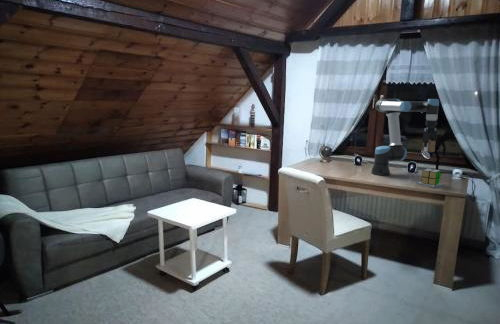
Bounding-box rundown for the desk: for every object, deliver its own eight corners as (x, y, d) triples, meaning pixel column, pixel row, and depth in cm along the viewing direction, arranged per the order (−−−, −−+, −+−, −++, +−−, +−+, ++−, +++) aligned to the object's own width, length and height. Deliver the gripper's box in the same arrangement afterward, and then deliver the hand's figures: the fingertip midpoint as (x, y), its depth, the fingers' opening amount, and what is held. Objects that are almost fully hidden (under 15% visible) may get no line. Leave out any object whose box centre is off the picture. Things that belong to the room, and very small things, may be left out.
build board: (416, 183, 272) (416, 182, 272) (426, 181, 279) (427, 180, 279) (433, 188, 260) (433, 186, 260) (444, 185, 268) (444, 184, 268)
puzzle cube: (425, 180, 277) (426, 168, 275) (439, 183, 270) (440, 170, 268) (421, 183, 270) (422, 170, 268) (435, 185, 263) (436, 172, 261)
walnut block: (422, 151, 267) (423, 140, 266) (427, 150, 270) (428, 140, 268) (429, 152, 262) (430, 141, 260) (434, 151, 265) (435, 141, 263)
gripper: (428, 120, 254) (425, 152, 258) (444, 120, 263) (440, 150, 267) (418, 120, 260) (415, 151, 264) (434, 119, 270) (431, 149, 274)
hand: (428, 151), depth 266 cm, fingers closed on walnut block, 6 cm apart
